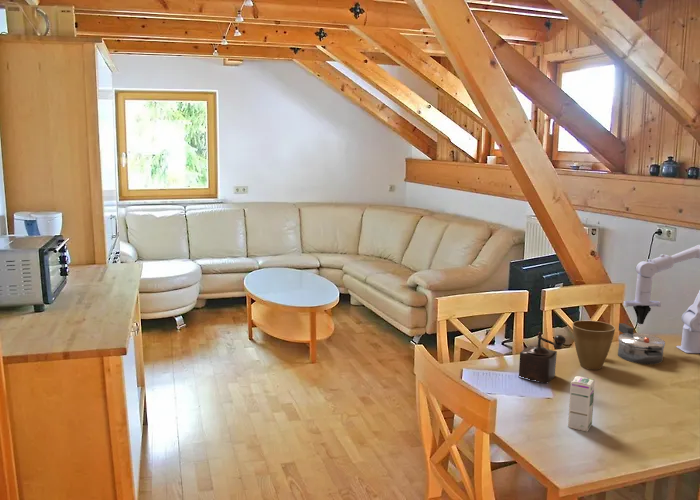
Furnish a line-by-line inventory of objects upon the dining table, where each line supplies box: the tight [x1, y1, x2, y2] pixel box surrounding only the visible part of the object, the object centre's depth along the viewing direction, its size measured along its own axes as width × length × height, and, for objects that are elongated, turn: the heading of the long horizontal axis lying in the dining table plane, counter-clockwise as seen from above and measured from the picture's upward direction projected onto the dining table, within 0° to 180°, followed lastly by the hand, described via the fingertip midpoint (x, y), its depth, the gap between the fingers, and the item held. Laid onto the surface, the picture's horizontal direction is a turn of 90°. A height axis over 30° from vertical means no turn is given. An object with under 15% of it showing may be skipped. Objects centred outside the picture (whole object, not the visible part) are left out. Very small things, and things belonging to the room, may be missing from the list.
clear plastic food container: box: [617, 340, 665, 365], centre depth 252 cm, size 23×16×6 cm
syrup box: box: [567, 375, 596, 433], centre depth 189 cm, size 6×6×14 cm
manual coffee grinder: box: [518, 331, 566, 384], centre depth 226 cm, size 16×11×18 cm
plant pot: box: [572, 319, 616, 371], centre depth 239 cm, size 15×15×16 cm
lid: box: [618, 322, 666, 351], centre depth 252 cm, size 25×17×3 cm, turn 6°
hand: (640, 323), depth 261 cm, fingers closed
